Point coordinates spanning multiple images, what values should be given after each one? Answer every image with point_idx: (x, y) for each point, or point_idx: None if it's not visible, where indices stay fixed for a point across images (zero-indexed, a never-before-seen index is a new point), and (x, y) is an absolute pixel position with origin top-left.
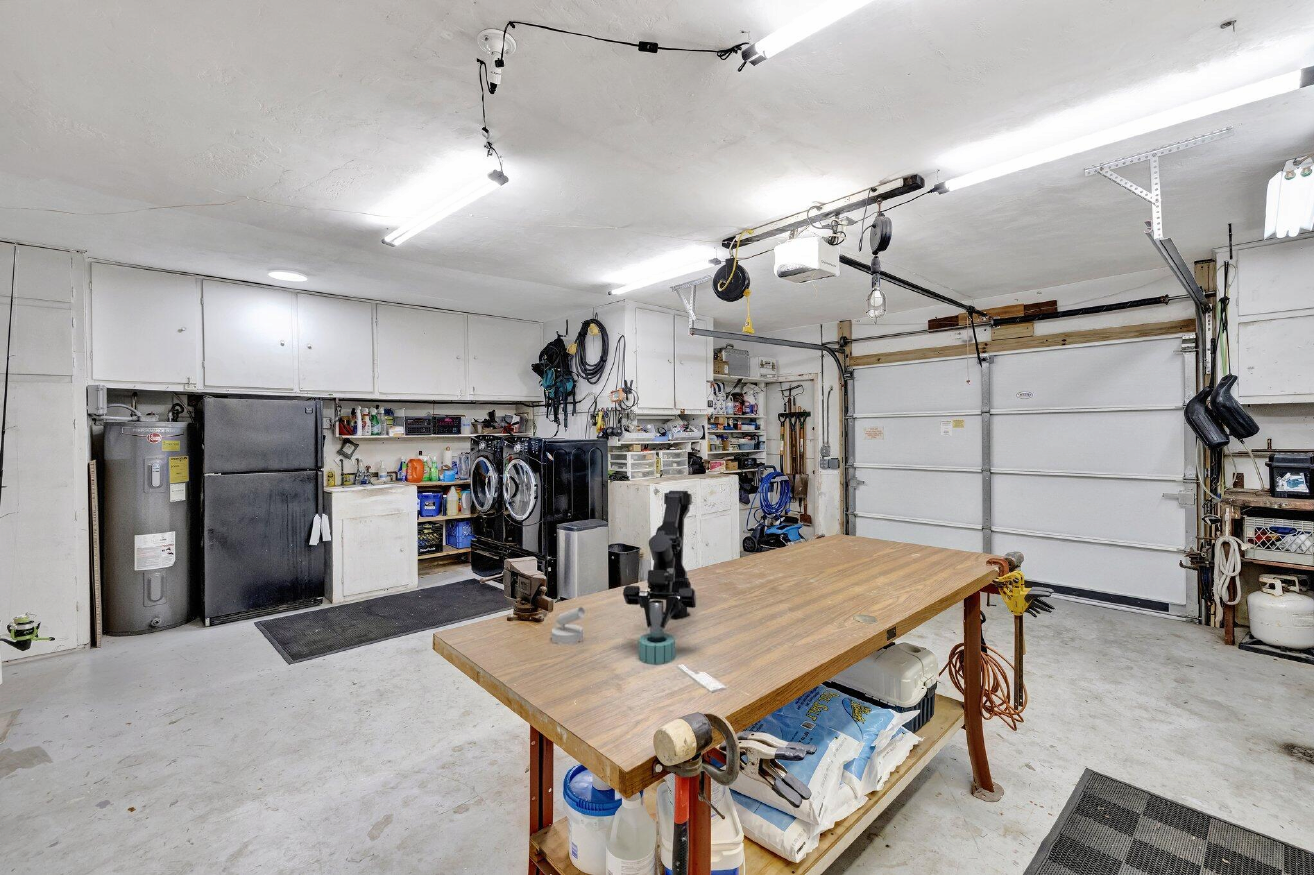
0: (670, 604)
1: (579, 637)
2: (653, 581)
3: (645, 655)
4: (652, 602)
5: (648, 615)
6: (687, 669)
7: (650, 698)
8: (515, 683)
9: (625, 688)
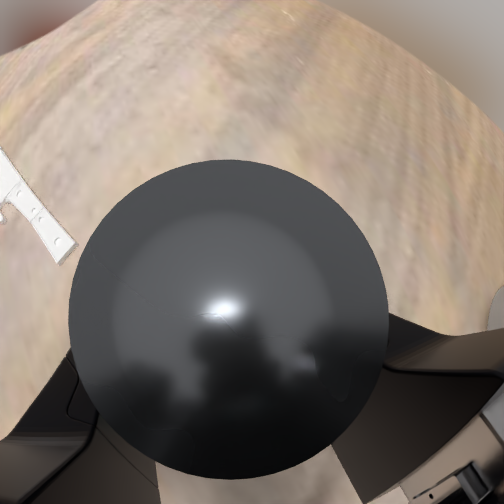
0: (22, 445)
1: (496, 326)
2: None
3: None
4: (317, 257)
5: None
6: (34, 221)
7: (126, 44)
8: (430, 74)
9: (208, 62)
